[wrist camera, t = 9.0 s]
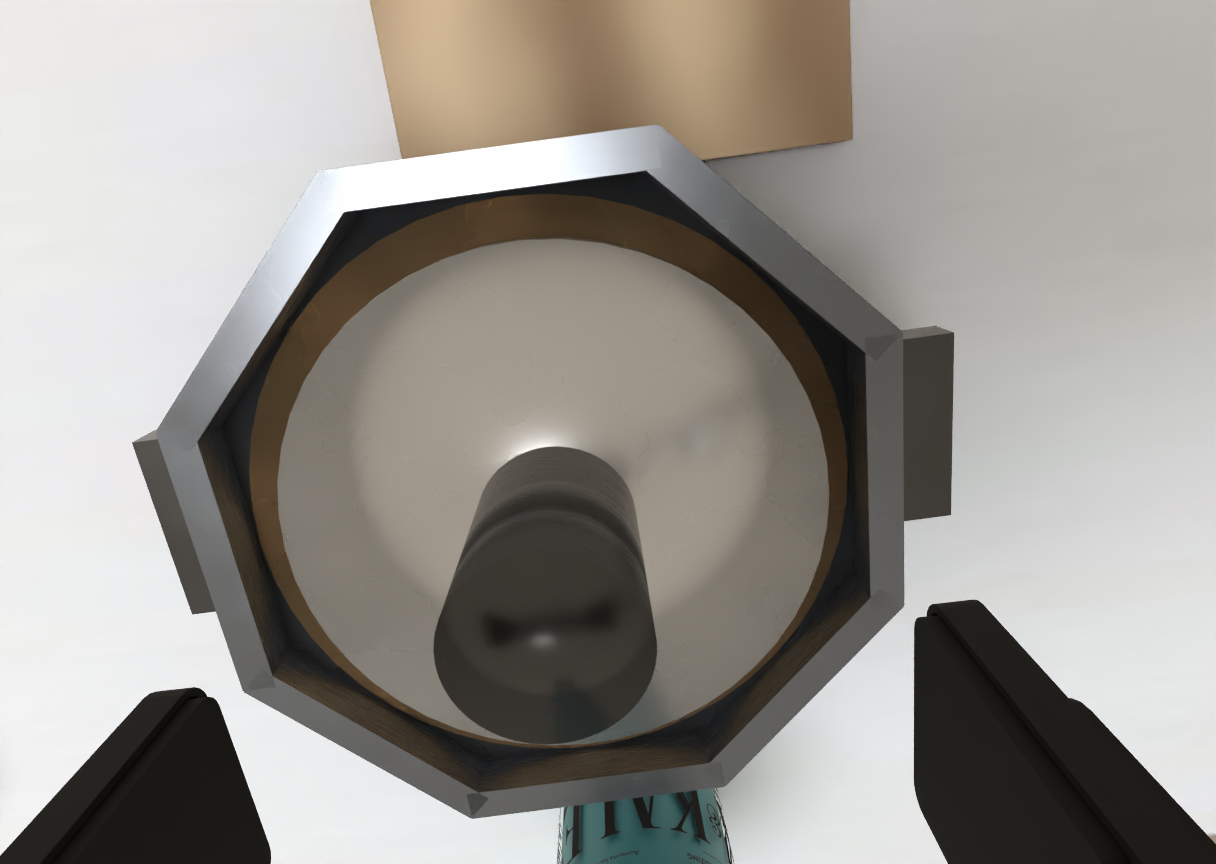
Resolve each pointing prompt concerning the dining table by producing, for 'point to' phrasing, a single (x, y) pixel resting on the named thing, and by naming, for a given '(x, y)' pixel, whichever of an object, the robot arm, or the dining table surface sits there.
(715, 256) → the stockpot
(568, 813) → the beverage bottle
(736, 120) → the plate
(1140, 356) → the dining table surface
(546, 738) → the lid
